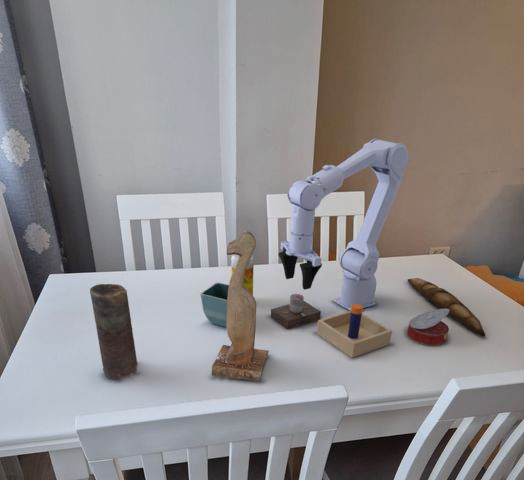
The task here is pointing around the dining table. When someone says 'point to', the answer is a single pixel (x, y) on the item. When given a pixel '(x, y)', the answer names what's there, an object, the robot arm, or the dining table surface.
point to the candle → (114, 330)
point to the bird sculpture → (240, 320)
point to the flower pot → (216, 303)
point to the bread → (448, 304)
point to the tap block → (295, 315)
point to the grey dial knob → (296, 303)
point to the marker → (355, 321)
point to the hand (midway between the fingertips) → (297, 283)
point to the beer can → (249, 272)
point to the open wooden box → (368, 338)
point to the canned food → (429, 327)
